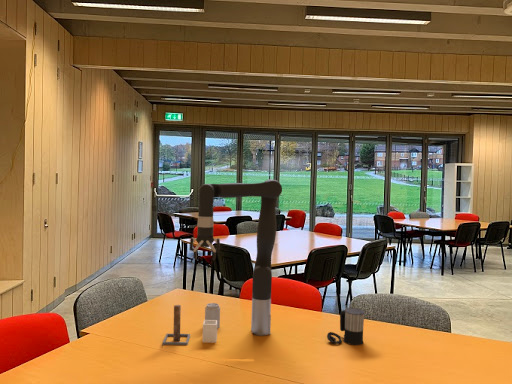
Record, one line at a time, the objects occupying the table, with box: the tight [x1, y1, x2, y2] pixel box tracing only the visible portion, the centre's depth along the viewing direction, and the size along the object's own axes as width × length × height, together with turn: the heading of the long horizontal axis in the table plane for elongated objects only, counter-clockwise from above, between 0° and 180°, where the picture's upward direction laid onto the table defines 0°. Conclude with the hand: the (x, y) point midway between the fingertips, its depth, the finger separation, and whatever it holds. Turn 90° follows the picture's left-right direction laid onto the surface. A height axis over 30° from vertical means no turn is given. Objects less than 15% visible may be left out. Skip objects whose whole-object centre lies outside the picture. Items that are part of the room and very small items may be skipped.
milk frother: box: [326, 307, 366, 346], centre depth 207 cm, size 14×16×15 cm
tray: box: [162, 333, 191, 347], centre depth 201 cm, size 11×11×2 cm
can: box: [204, 302, 221, 329], centre depth 220 cm, size 8×8×12 cm
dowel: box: [172, 304, 182, 342], centre depth 201 cm, size 3×3×16 cm
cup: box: [201, 319, 218, 344], centre depth 202 cm, size 6×6×9 cm
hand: (204, 259), depth 210 cm, fingers open, 8 cm apart
